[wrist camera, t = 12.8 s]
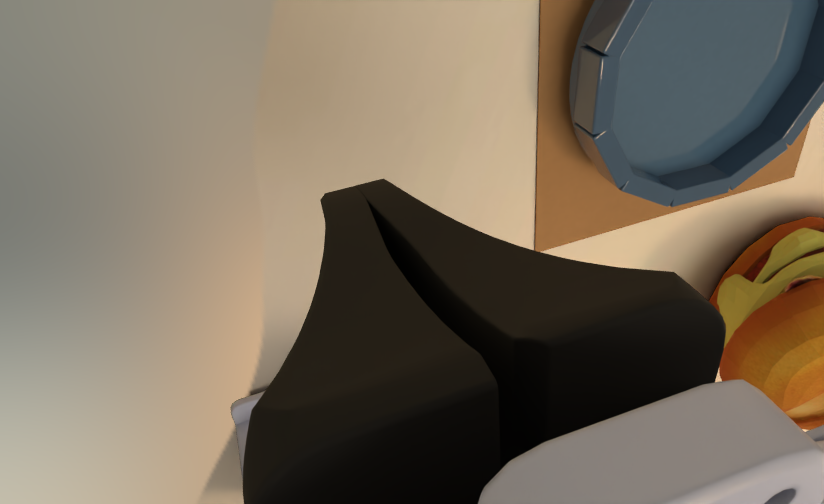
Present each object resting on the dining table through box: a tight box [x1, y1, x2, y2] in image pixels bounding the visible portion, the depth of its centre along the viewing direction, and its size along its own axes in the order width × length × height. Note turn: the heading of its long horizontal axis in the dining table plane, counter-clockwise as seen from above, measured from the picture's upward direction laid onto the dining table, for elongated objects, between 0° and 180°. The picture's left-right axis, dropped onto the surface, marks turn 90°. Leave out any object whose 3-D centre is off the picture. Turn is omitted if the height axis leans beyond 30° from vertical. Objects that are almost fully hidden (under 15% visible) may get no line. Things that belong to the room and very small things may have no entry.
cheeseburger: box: [709, 216, 824, 430], centre depth 32 cm, size 10×11×10 cm
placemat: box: [535, 0, 811, 252], centre depth 24 cm, size 14×16×1 cm
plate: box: [569, 0, 824, 207], centre depth 23 cm, size 11×11×2 cm
